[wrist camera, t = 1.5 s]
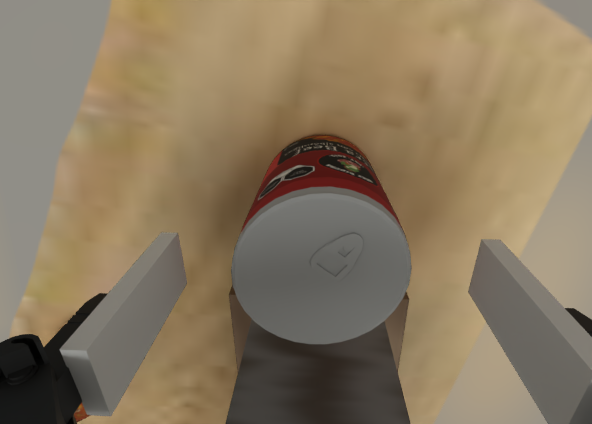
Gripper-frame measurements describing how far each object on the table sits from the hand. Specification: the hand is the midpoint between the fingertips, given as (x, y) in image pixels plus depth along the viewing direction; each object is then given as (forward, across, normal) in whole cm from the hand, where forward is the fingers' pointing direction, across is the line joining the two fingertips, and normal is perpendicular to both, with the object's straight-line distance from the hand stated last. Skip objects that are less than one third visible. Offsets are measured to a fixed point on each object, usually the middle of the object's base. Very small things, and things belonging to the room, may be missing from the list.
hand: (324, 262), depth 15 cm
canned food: (+10, 0, 0) cm, 10 cm away
